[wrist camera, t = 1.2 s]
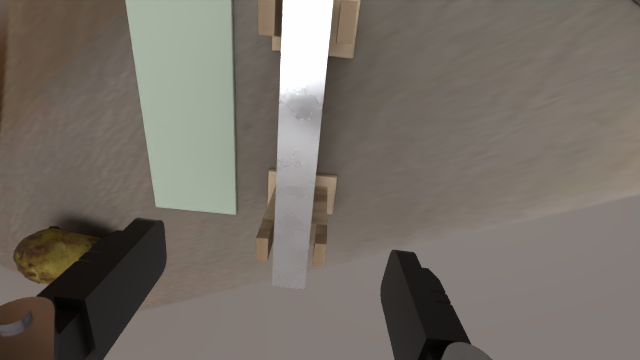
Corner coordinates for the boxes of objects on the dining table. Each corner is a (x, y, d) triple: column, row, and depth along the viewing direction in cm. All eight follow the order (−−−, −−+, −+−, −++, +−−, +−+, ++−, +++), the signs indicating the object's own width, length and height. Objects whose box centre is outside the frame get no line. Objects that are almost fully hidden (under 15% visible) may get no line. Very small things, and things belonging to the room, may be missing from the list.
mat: (232, -32, 28) (230, -33, 27) (237, 212, 39) (235, 214, 38) (122, -44, 28) (118, -45, 27) (158, 204, 39) (156, 206, 38)
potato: (128, 286, 45) (89, 333, 37) (47, 229, 41) (-14, 270, 34) (163, 256, 42) (128, 301, 35) (80, 193, 38) (22, 229, 31)
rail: (337, -45, 20) (338, -59, 17) (306, 267, 31) (304, 289, 28) (291, -51, 20) (285, -65, 17) (277, 264, 31) (272, 285, 28)
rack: (359, 1, 29) (378, -23, 18) (332, 211, 38) (333, 279, 27) (275, -8, 29) (241, -38, 18) (268, 205, 38) (244, 270, 27)
